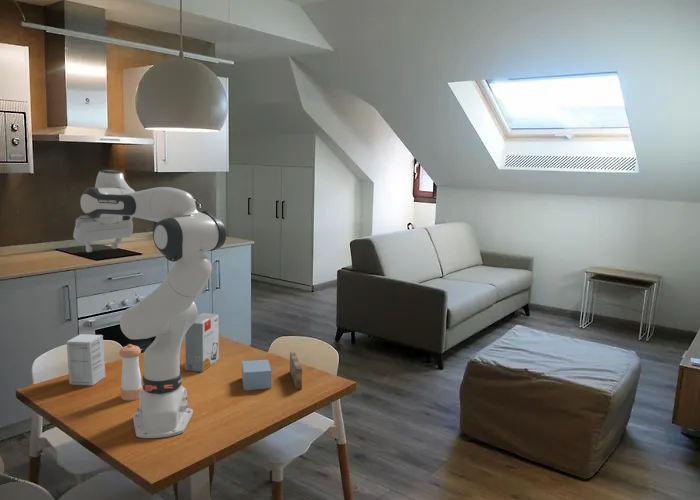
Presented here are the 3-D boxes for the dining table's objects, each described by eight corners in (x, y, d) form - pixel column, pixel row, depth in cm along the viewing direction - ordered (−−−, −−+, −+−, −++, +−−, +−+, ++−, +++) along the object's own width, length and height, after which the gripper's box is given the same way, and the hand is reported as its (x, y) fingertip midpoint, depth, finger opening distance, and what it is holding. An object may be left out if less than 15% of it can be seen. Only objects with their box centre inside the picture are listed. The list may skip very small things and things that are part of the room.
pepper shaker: (122, 402, 195) (120, 349, 192) (119, 394, 201) (117, 343, 198) (144, 398, 198) (142, 345, 195) (140, 390, 205) (138, 340, 202)
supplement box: (106, 376, 217) (104, 334, 214) (93, 386, 208) (90, 342, 205) (82, 375, 218) (80, 333, 215) (68, 384, 209) (65, 341, 206)
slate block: (271, 388, 210) (271, 370, 208) (244, 390, 207) (243, 372, 206) (267, 376, 221) (267, 359, 220) (242, 378, 219) (241, 361, 217)
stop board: (301, 388, 209) (301, 368, 208) (296, 389, 209) (296, 368, 207) (294, 371, 226) (294, 352, 225) (289, 371, 226) (289, 352, 225)
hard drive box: (202, 372, 223) (201, 324, 220) (185, 370, 225) (183, 322, 221) (219, 359, 238) (218, 313, 235) (202, 357, 240) (201, 312, 236)
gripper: (80, 219, 186) (77, 257, 191) (137, 215, 202) (132, 250, 207) (71, 212, 190) (68, 249, 195) (127, 208, 206) (123, 243, 210)
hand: (101, 249), depth 201 cm, fingers open, 8 cm apart
